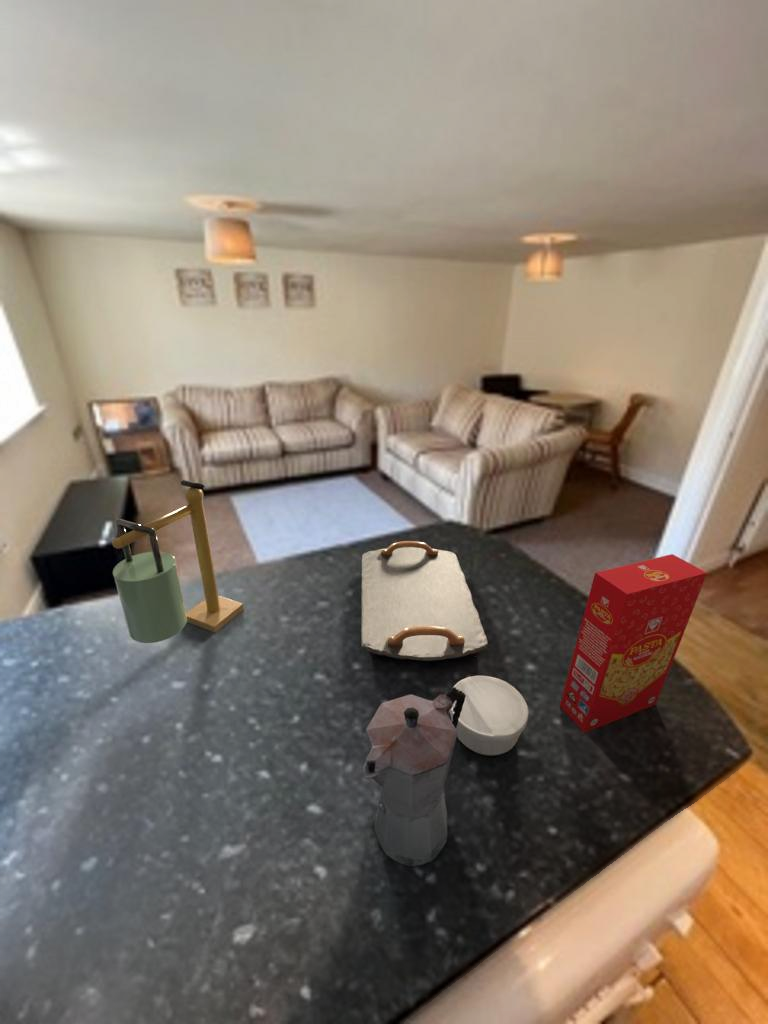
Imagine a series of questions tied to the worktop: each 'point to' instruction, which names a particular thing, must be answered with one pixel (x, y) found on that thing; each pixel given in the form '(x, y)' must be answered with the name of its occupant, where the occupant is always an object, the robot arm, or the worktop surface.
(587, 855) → the worktop surface
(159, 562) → the green hanging weight
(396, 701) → the moka pot
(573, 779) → the worktop surface
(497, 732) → the ramekin
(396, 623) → the serving tray
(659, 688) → the food packaging
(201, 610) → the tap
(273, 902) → the worktop surface
